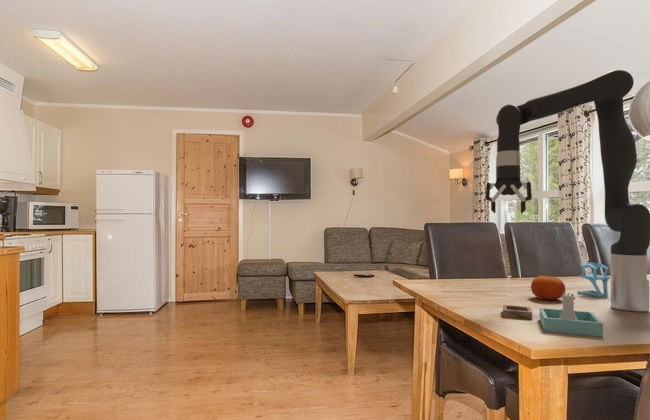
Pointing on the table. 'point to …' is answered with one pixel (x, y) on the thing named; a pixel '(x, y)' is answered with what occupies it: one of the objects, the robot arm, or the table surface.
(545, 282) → the fruit
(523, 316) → the socket collar
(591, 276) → the chair
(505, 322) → the table surface
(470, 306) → the table surface
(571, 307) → the rook chess piece
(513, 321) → the table surface
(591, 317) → the tray
